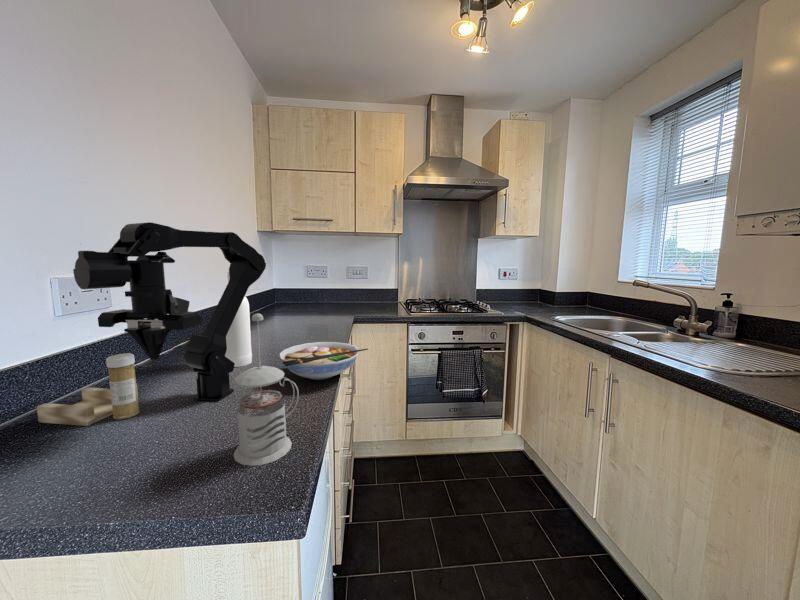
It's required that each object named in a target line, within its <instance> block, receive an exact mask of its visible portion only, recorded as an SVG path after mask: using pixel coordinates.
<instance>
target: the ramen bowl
mask: <svg viewBox="0 0 800 600" xmlns="http://www.w3.org/2000/svg"><path fill="white" fill-rule="evenodd" d="M367 350H369V348H363V349H359V348H358V347H357V346H356V345H355V344H354V345H353V344H350V343H346V342H338V341H317V342H307V343H305V342H304V343H302V344H296V345H293V346H290V347H287V348H285V349H283V350H282V351H281V352H280V353H278V355H279V358H280V360H281V362H282V365H284V367H285V368H287V369H288V370H289V372H290V373H293V374H295V375H297V376H299V377H300V378H301V377H302V378H306V379H310V380H315V381H321V380H322V381H324V380H327V379H330V378H332V377H334V376H335V377H336V376H337V375H340V374H342V373H343V372H345V371H346V370H348V369H349V368H350V367H351V366H352V365H353V364H354V362H355V361H356V360H357V357H358V355H359V352H361V351H363V352H364V351H367Z"/></svg>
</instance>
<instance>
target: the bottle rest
mask: <svg viewBox="0 0 800 600" xmlns="http://www.w3.org/2000/svg"><path fill="white" fill-rule="evenodd" d="M81 399H82V400H81V401H79V402H76V403H75V404H64V403H63V404H62V403H47V402H45V403H42V404H38V405H37V406H36V412H37V420H38V423H43V424H56V425H57V424H59V425H69V426H83V427H88V426H91V425H93V424H95V423H97V422H99V421H102V420H103V419H106V418H108V417H110V416H113V407H112V402H111V392H110V388H103V387H86V388H82V389H81Z"/></svg>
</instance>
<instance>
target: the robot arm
mask: <svg viewBox="0 0 800 600" xmlns="http://www.w3.org/2000/svg"><path fill="white" fill-rule="evenodd" d="M179 248H219V249H220V250H221V252H222V254H223V257H224V259H225V260H226V261H227V262H228V263H230V264H229V267H228V272H229V275H230V280H229V282H228V281H227V284H226V287H225V288H224V291H223V293H222V295H221V297H220V299H219V301H218V302H217V304H216V305H217V306H216V307H215V309H214V310H213V313H212V314H211V317H210V319H209V322H208V323H207V325H206V327H205V329H204V330H203V331H202V332H201V333H200V334H195V333H193V334H192V335H191V336H190V338H189V340H188V343H187V344H186V346H185V347H184V348H183V351H185V352H184V354H183V359H184V362H185V364H186V365H187V366H189V367H191V371H192V372H193V373H197V376H196V377H197V378H196V391H197V392H196V394H197V395H196V396H195V397H193V400H195V401H208V402H209V401H210V402H219V401H221V400H223V399H224V398H225V397H227V396H228V395H231V394H232V393H234V391H235V389H234V388H231V384H230V373H232V372H233V371H234V368H235V367H234V365H235V363H234V362H232V361H231V360H229V359H228V358H227V357H225V354H226V350H227V343H226V336H227V333H228V331H229V329H230V327H231V325H232V322H233V320H234V318H235V316H236V314H237V312H238V309H239V307H240V305H241V303H242V301H243V299H244V296H245V297H246V294H247V292H248V290H249V288H250V287H251V285H253V284H254V283H256V282H257V281H258V280H260V278H261V276H262V275H263V273H264V271H265V270H266V266H267V263H266V261H265V258H264V255H262V254H260V253H259V252H258V251H257V250H256V249H255V247H252V245H250V244H248V243H247V242H246V241H244V240H242V238H241V237H240V236H239V235H238V234H237V233H235V232H232V231H224V232H223V231H222V232H220V231H219V232H217V231H203V230H201V231H200V230H184V229H179V228H174V227H171V226H168V225H165V224H160V223H157V222H138V223H137V222H136V223H128V224H125V225H124V227H122V228H121V230H120V233H119V238H118V240H117V241H116V242H114V245H113V246H112V247H111V248H110V249H109V251H107V252H106V251H103V252H102V251H94V250H79V251H77V256H78V257H77V259H76V261H75V264H74V268H73V270H72V271H73V277H74V280H75V283H76V285H77V286H78V288H80V289H81V290H94V289H96V290H97V289H111V288H114V289H115V288H123V287H125V286H126V284H127V283H129V288H130V290H126V291H124V294H125V295H124V297H126V298H127V297H128V298H130V299H131V300H130V301H131V309H126V308H124V309H117V310H110V311H104V312H101V313H100V314H99V315H98V317H97V324H98V327H99V328H112V327H114V326H115V325H116V324H119V323H127V324H126V325H127V326H126V327H127V328H124V329H123V331H124V333H128V334H129V335H130V337H131V338H133V340H134V341H135V342H136V343H137V345H139V347H140V348H141V349H142V351H143V352H144V353H145V354H146V355H147V357H148V358H149V360H150V361H156V360H158V359H159V357H160V356H161V355H160V354H161V352H162V349H163V345H164V343H165V340H166V338H167V336H168V334H169V333H170V332H171V331H172V330H174V331H181V330H187V329H190V328H194V327H197V326H201V325H203V319H202V315H201V314H200V313H199V312H198V311H189V306H190V303H191V302H190V300H187V299H183V298H180V297H177V296H176V297H175V296H173V291H172V290H171V289H167V287H166V277H165V276H166V275H165V267H164V264H174V263H176V260H175V259H174V258H172V257H171V256H170V255H168V254H167V252H166V251H168V250H174V249H179ZM149 253H156V254H149ZM129 257H135V258H136V257H137V258H136V260H135V259H134V260H133V259H131V260H129V259H128V258H129Z"/></svg>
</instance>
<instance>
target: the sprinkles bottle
mask: <svg viewBox="0 0 800 600" xmlns="http://www.w3.org/2000/svg"><path fill="white" fill-rule="evenodd" d="M105 362H106V367H107V371H108V377H109V378H108V379H109V380H108V382H109V389H110V392H111V402H112V407H113V414H112V418H113V419H114V420H118V421H119V420H126V419H127V420H128V419H130V418H133V417H135V416H137V415H138V414H139V413H140V408H139V407H140V405H139V393H138V385H137V379H136V369H135V363H136V361H135V355H134V354H133V353H120V354H113V355H110V356H108V357H106V359H105Z"/></svg>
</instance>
